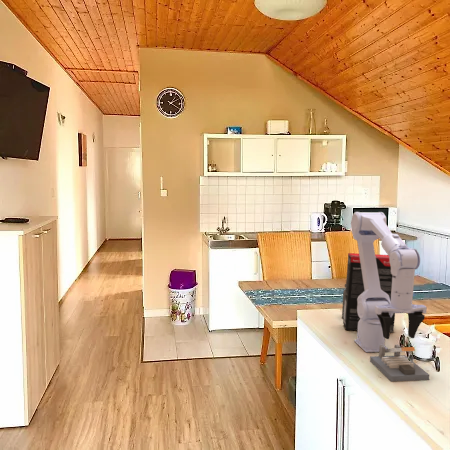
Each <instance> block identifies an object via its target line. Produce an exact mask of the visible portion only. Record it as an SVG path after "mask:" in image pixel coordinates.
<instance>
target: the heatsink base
mask: <svg viewBox="0 0 450 450" xmlns="http://www.w3.org/2000/svg"><path fill="white" fill-rule="evenodd" d="M394 348H402V347H401V345H399V344H394ZM408 358H409V357H408V356H407V355H404V354H402V355H401V352H393V355H386V353H385V347H384V346H383V345H380V347H379V352H378V356H377V355H376V356H375V355H372V356H370V358H369V362H370V363H371V364H372V365H374V367H375V368H376V369H377V370H378V371H380V372H381V374H383V375H384V377H386V378H387V379H388V380H389V381H390V382H393V383H394V382H410V381H413V382H414V381H429V380H430V374H429V373H428V372H427V371H426V370H424V369H423V368H422V367H421V366H419V365H418V364H417V363H415V362H414V361H413V360H412V359H410V360H411V361H409V360H408Z"/></svg>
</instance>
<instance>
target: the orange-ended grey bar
mask: <svg viewBox="0 0 450 450" xmlns="http://www.w3.org/2000/svg"><path fill="white" fill-rule="evenodd" d="M413 351H416V350H415V346H409V347H408V346H404V347H401V348H395V347H394V348H388V349H385V354H386V353H390V354H391V353H394V352H400V353H402V352H403V353H405V352H413Z"/></svg>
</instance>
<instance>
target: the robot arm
mask: <svg viewBox="0 0 450 450" xmlns="http://www.w3.org/2000/svg"><path fill="white" fill-rule="evenodd" d="M350 225H351V234H352V238H353V239H354V240H355V241H356V242H357V248H358V254H359V256H360V263H361V269H362V276H363V283H364V290H365V291H364V292H363V293H362V294H360V295H359V297H358V298H357V303H358V305H357V313H358V316H359V317H360V320H359V322H358V330H356V331H357V334H356V339H354V340H353V342H354V343H356V345H358V346H359V347H360V348H361V349H362V350H363V351H364V352H365V353H379V347H380V345H383V346H384V347H385V349H389V348H388V347H387V346H386V345H385V343H386V340H389V339H390V336H391V335H390V334H391V333H390V326H391V322H392V319H393V318H392V316H393V313H395V314H407V316H408V317H407V318H408V326H407V327H408V329H407V335H408V337H410V338H411V339H414V338H415V336H416V334H417V331H418V329H419V327H420V325H421V324H422V322H424V320H425V318H426V316H425V314H427V306H426V305H425V304H413V297H414V286H415V285H414V284H415V273H416V270H418V269H419V267H420V264H421V257H420V252H419V251H418V249H417V248H411V247H409V246H407V244H406V243H405V242H404V241H403V239H402V238H401V237H400V235H399V234H398V233H392V231H391V230H390V228H389V226H388V225H387V216H386V215H385V213H384V212H382V211H378V212H372V211H371V212H363V211H362V212H360V211H355V212H354V213H353V214H352V216H351V220H350ZM379 239H380V240H381V243H380V245H381V248H382V249H383V250H384V252H385V253H386V255H388V256H389V257H390V258H389V260H390V265H391V274H392V275H393V276H392V289H391V301H390V298H389V295H388V294H387V293H385V292H384V291H382V290H381V287H380V281H379V275H378V269H377V263H376V257H375V254H376V252H375V250H376V249H375V245H374V242H375V241H376V240H379Z"/></svg>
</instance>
